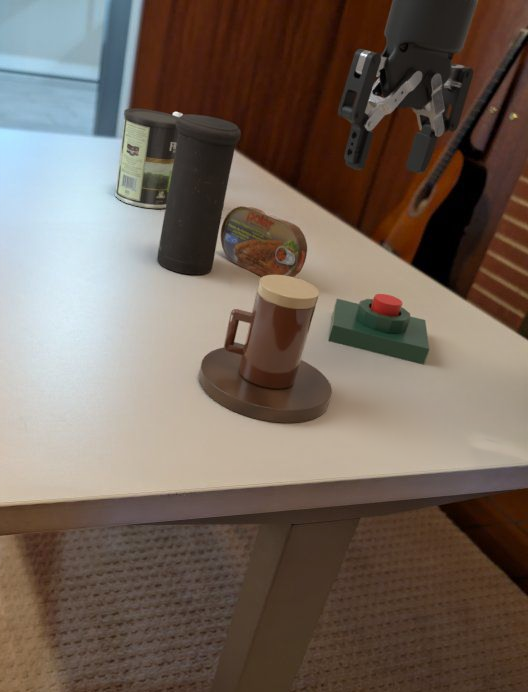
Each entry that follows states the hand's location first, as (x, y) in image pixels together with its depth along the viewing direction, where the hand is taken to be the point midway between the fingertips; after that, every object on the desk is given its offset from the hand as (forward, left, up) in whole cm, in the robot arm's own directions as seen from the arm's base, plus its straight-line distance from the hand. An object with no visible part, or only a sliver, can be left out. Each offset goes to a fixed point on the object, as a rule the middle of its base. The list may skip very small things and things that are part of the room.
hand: (384, 169), depth 78 cm
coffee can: (+36, -48, -22) cm, 64 cm away
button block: (-6, -10, -22) cm, 25 cm away
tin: (+12, -25, -22) cm, 36 cm away
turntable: (+6, +12, -22) cm, 26 cm away
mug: (+7, +12, -20) cm, 25 cm away
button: (-6, -10, -18) cm, 22 cm away
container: (+22, -20, -22) cm, 37 cm away
